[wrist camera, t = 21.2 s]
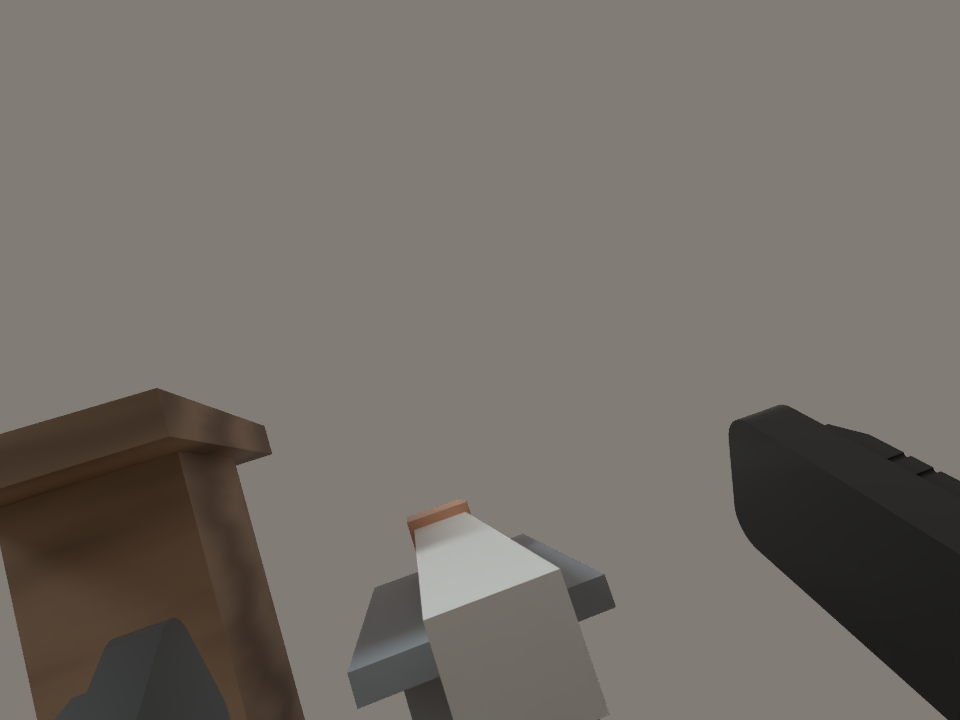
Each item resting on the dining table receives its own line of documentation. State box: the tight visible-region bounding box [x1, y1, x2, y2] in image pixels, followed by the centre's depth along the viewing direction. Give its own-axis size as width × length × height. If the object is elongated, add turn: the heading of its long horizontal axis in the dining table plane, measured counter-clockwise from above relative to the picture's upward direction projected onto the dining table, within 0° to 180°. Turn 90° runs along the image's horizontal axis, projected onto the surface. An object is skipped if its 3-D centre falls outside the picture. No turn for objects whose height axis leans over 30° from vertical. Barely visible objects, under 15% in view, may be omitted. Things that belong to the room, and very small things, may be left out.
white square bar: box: [407, 499, 610, 720], centre depth 21 cm, size 22×3×3 cm, turn 6°
